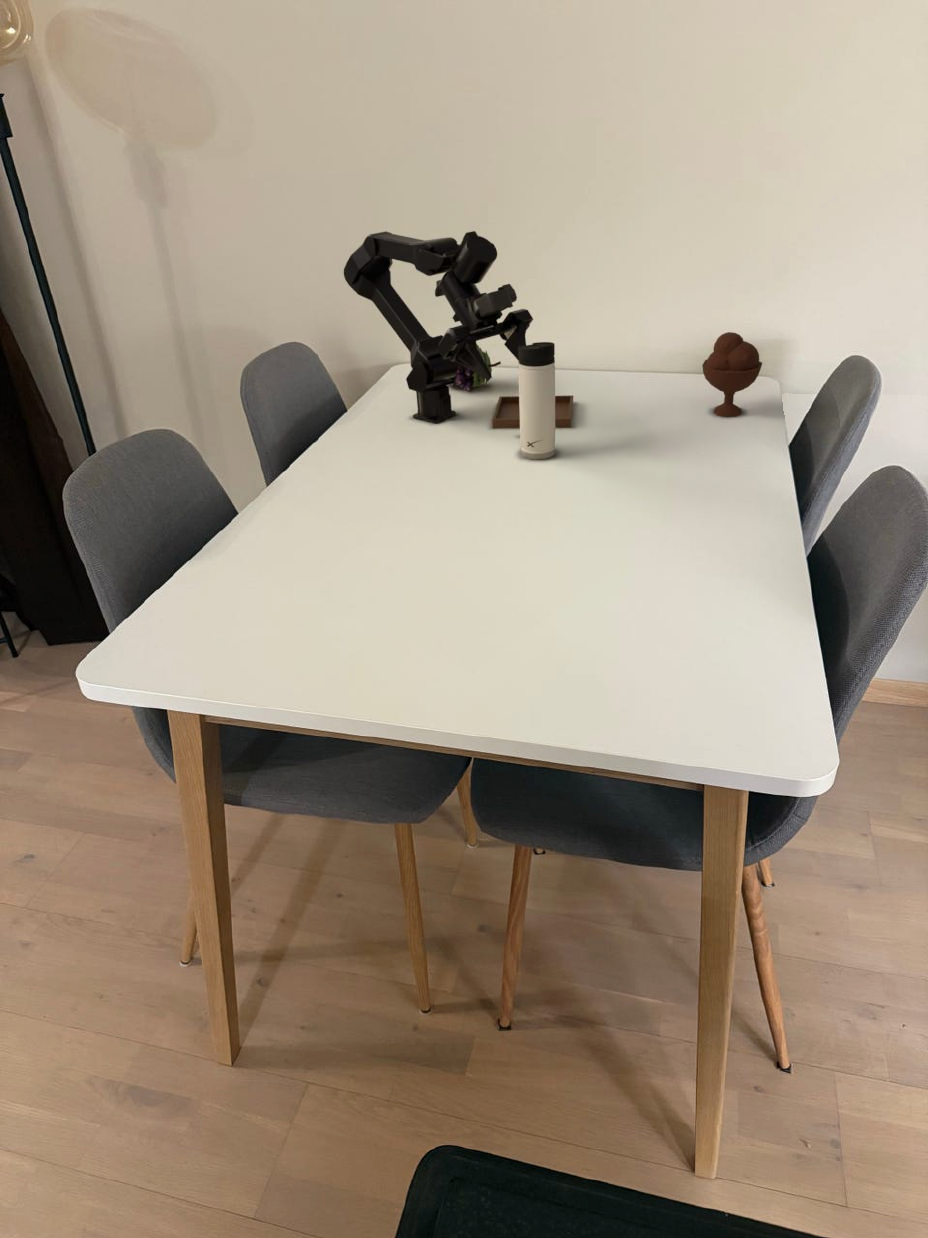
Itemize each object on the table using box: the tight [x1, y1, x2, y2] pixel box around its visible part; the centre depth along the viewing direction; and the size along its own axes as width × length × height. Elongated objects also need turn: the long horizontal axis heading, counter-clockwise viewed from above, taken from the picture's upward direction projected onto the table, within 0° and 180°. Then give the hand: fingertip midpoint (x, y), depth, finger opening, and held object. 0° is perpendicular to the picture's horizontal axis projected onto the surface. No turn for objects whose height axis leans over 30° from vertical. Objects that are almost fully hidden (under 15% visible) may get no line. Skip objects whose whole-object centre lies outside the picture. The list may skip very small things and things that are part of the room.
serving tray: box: [491, 394, 574, 429], centre depth 180 cm, size 15×14×2 cm
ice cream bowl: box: [701, 331, 763, 418], centre depth 172 cm, size 11×11×15 cm
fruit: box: [449, 344, 502, 392], centre depth 195 cm, size 10×11×15 cm
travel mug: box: [517, 341, 556, 460], centre depth 158 cm, size 6×7×20 cm
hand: (509, 372), depth 161 cm, fingers open, 9 cm apart
